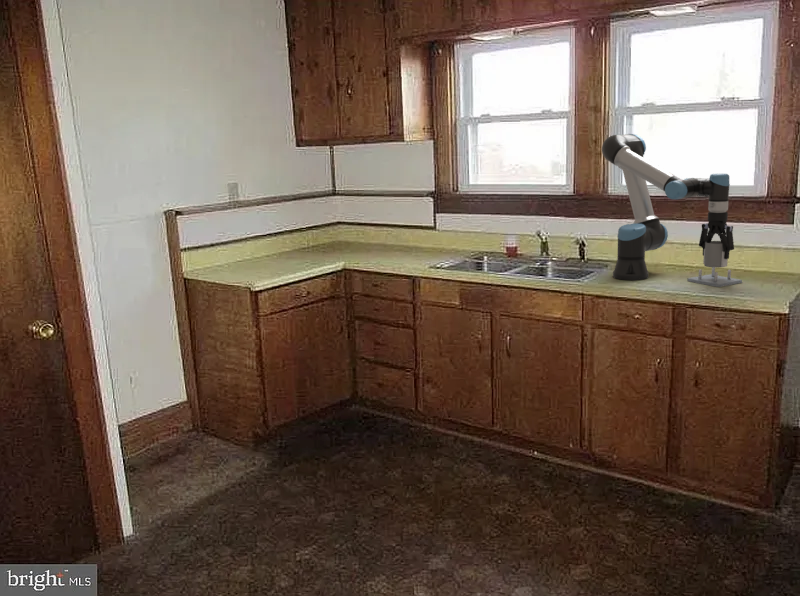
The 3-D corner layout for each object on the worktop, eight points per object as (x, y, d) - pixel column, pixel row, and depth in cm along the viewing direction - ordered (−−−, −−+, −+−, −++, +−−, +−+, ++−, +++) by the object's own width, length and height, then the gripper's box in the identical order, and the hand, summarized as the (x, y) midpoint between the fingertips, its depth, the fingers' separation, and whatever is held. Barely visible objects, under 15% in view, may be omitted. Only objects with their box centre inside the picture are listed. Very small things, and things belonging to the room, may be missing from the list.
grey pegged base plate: (687, 281, 305) (687, 269, 304) (710, 277, 311) (710, 265, 310) (718, 287, 291) (719, 274, 290) (741, 282, 297) (742, 270, 296)
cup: (715, 268, 294) (716, 244, 292) (699, 265, 302) (701, 242, 299) (730, 266, 297) (731, 242, 295) (714, 263, 305) (715, 240, 303)
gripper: (690, 210, 302) (688, 262, 307) (733, 213, 284) (730, 269, 289) (703, 208, 305) (700, 260, 310) (746, 212, 287) (742, 267, 292)
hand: (715, 265), depth 299 cm, fingers closed on cup, 8 cm apart
